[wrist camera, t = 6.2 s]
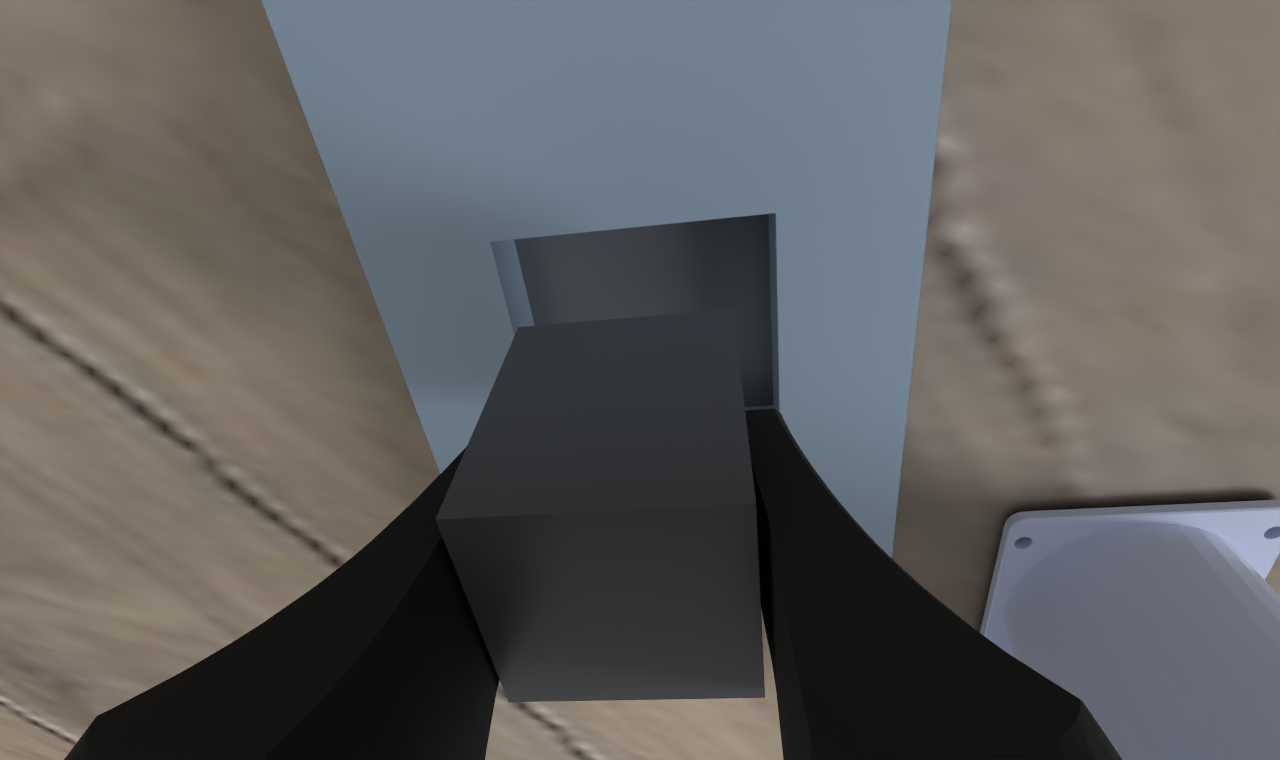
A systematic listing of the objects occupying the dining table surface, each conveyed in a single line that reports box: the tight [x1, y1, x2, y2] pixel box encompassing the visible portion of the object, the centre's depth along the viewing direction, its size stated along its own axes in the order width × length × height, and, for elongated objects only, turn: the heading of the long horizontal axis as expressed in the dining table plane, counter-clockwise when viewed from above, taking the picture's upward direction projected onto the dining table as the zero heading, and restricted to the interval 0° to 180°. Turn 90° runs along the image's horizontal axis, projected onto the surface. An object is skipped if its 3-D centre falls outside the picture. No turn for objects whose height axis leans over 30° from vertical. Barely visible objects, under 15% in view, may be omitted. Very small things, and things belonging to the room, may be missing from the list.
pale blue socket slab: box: [261, 0, 952, 558], centre depth 17 cm, size 16×12×2 cm
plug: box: [435, 309, 765, 702], centre depth 11 cm, size 4×4×5 cm
